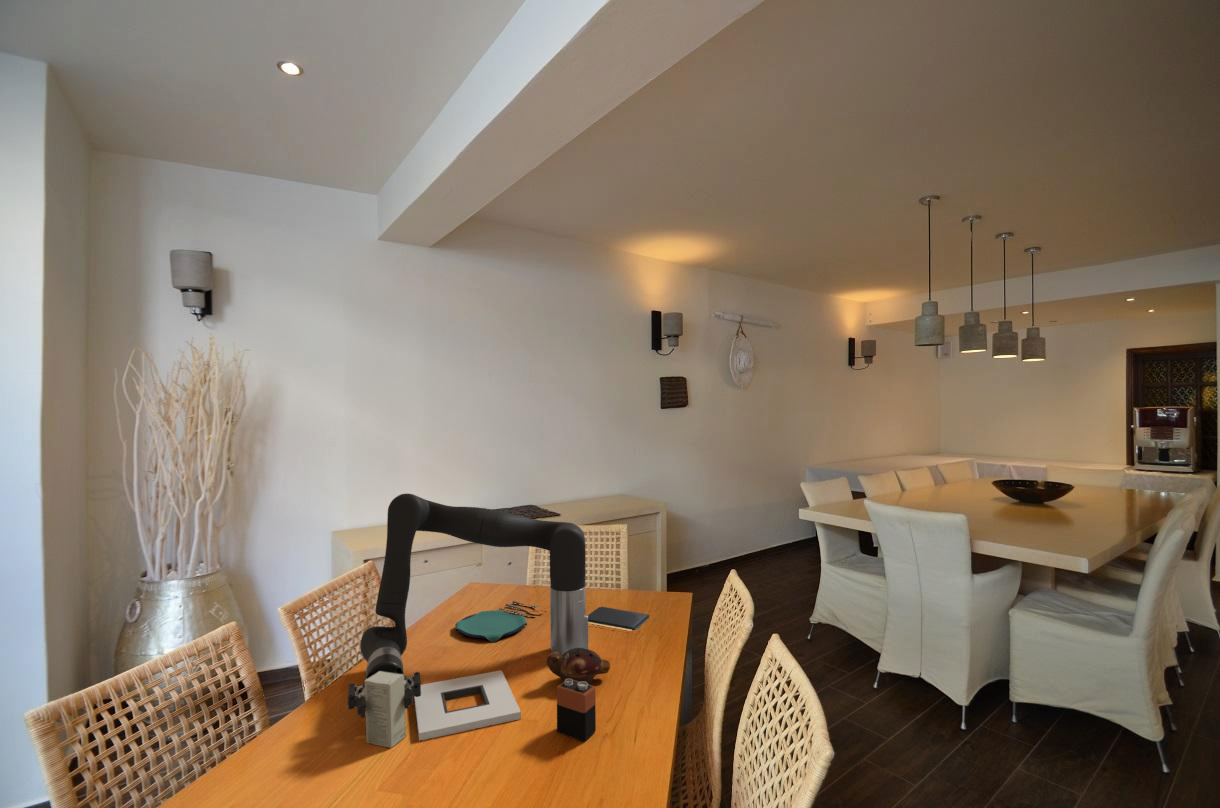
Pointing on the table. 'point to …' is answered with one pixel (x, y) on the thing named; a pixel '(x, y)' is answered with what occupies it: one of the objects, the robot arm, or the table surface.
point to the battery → (576, 709)
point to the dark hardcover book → (617, 618)
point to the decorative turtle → (577, 665)
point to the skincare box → (385, 709)
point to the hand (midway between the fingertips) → (385, 707)
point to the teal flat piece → (492, 623)
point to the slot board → (442, 722)
